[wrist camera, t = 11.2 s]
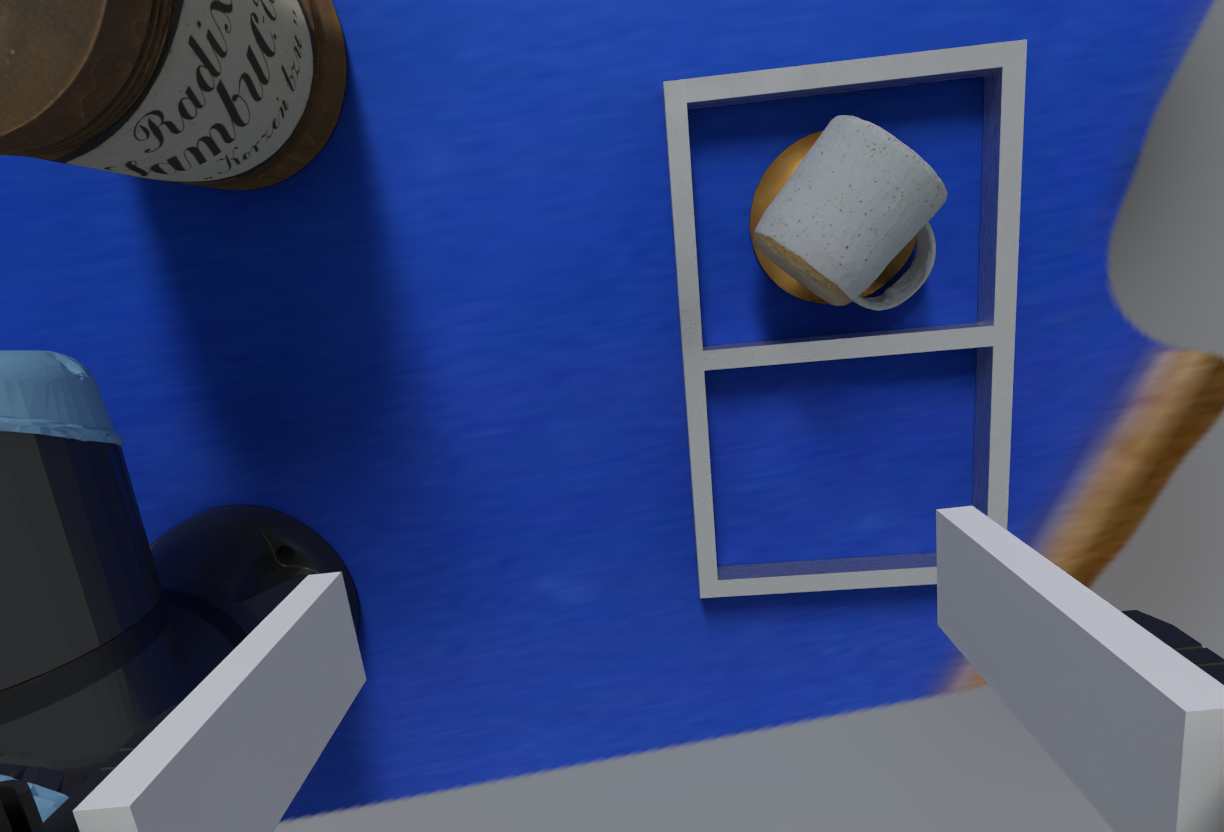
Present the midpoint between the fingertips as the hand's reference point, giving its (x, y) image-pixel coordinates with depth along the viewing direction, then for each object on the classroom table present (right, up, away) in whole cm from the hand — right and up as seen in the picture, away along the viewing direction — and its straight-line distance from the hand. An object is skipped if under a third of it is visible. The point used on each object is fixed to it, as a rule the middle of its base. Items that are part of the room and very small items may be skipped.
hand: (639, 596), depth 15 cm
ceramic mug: (+13, +15, +25) cm, 32 cm away
